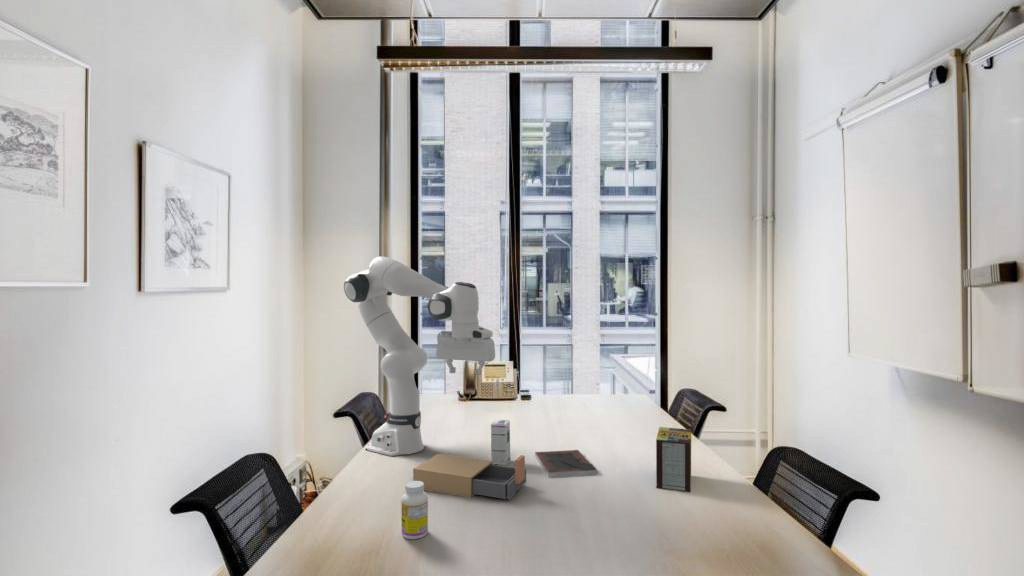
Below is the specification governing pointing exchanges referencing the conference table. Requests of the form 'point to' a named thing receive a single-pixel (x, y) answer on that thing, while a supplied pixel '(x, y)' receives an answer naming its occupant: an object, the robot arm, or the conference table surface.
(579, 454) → the picture frame
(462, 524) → the conference table surface
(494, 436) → the syrup box
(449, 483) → the sleeve
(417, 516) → the supplement bottle
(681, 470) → the protein box
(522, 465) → the tray
